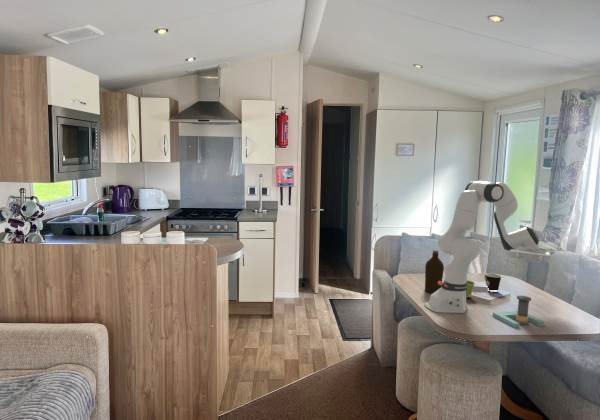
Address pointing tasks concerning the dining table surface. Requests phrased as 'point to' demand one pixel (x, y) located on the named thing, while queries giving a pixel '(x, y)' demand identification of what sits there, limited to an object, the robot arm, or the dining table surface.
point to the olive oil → (433, 273)
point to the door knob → (523, 310)
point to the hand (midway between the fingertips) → (528, 258)
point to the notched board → (510, 315)
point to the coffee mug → (492, 281)
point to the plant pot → (469, 288)
